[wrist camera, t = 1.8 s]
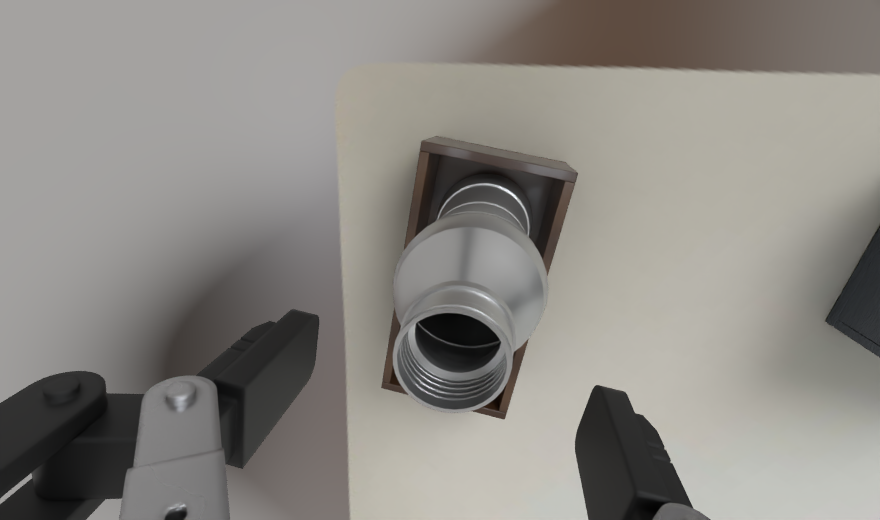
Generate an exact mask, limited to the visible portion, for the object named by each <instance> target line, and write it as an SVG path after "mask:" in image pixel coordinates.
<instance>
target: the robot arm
mask: <svg viewBox="0 0 880 520" xmlns="http://www.w3.org/2000/svg"><path fill="white" fill-rule="evenodd" d="M318 329H319V317H318V316H317V315H315V314H310V313H306V312H302V311H298V310H290V311H289V312H288V313H287V314H286V315H285V316H283V318H281V319H280V320H279V321H278V322H277V323H275V322H271V321H269V322H267V323H264V324H262V325H259V326H256V327H254V328H252V329H251V330H250V331H249V332H247V333H246V334H245V335H244V336H243V337H241V340H238V341H237V342H235V343H234V344H233V345H232V346H231V348H228V349H227V350H226V351H225V352H223V353H222V354H221V355H220V356H219V357H218V358H216V359H215V360H214V361H213V362H211V364H209V365H208V366H207V367H206V368H204V369H203V370H202V371H201V372H200V373H198V374H197V375H196V376H180V377H174V378H171V379H167V380H165V381H162V382H160V383H158V384H156V385H155V386H153V387H152V388H151V389H149V390H148V392H147V393H146V394H107V393H106V384H105V380H104V379H103V378H102V377H101V376H100V375H98V374H96V373H92V372H86V371H74V372H65V373H60V374H56V375H52V376H49V377H46V378H43V379H41V380H39V381H37V382H34V383H33V384H31V385H29V386H28V387H26V388H24V389H23V390H21V391H19V392H18V393H16V394H14V395H13V396H12V397H9V398H8V399H6V400H5V401H3V402H1V403H0V498H1V497H2V496H3V495H4V494H6V493H7V492H8V491H9V490H11V488H13V487H14V486H15V485H17V484H18V483H19V482H20V481H22V480H23V479H24V478H25V477H27V476H28V475H29V474H30V473H32V479H31V480H29V481H28V482H27V483H26V484H25V485H23V486H22V487H21V488H20V489H18V490H17V491H16V492H15V493H14V494H12V495H11V496H10V497H9V498H7V499H6V500H5V501H4V502H3V503H1V504H0V520H86V519H87V518H88V517H89V516H90V515H91V514H92V513H93V512H94V511H95V509H97V508H98V506H99V505H100V504H101V503H102V502H103V501H104V500H105V499H119V498H122V504H121V511H120V517H119V520H230V513H229V501H228V490H227V478H226V467H225V465H226V464H228V465H231V466H235V467H238V468H242V469H243V467H244V466H245V465H246V463H247V462H248V461H249V459H250V458H251V456H252V455H253V454H254V453H255V451H256V450H257V449H258V447H259V446H260V445H261V443H262V442H263V441H264V439H265V438H266V436H267V435H268V434H269V433H270V431H271V430H272V429H273V427H274V426H275V425H276V423H277V422H278V421H279V419H280V418H281V417H282V415H283V414H284V412H285V411H286V410H287V409H288V407H289V406H290V405H291V403H292V402H293V401H294V399H295V398H296V397H297V395H298V394H299V393H300V391H301V390H302V389H303V387H304V386H305V385H306V383H307V382H308V380H309V379H310V377H311V374H312V371H313V369H314V365H315V360H316V350H317V339H318ZM575 452H576V458H577V463H578V468H579V473H580V478H581V483H582V488H583V493H584V498H585V503H586V509H587V514H588V519H589V520H710V519H709V518H708V517H706V516H705V515H703V514H702V513H700V512H699V511H697V510H695V509H693V507H692V505H691V502H690V500H689V498H688V496H687V494H686V492H685V490H684V487H683V485H682V483H681V481H680V479H679V477H678V475H677V473H676V470H675V468H674V466H673V464H672V463H670V461H671V460H670V458H669V455H668V453H667V451H666V450H664V445H663V443H662V440H661V438H660V436H659V434H658V432H657V430H656V429H655V428H654V427H653V426H652V425H651V424H650V423H649V422H648V421H647V419H646V418H645V417H644V416H643V415H639V414H635V412H634V410H633V408H632V405H631V403H630V401H629V398H628V396H627V394H626V393H625V392H623V391H619V390H615V389H611V388H607V387H603V386H599V385H596V386H595V387H594V388H593V390H592V392H591V395H590V398H589V400H588V403H587V406H586V408H585V411H584V414H583V416H582V419H581V421H580V424H579V427H578V430H577V434H576V440H575Z"/></svg>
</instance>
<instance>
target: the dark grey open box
mask: <svg viewBox="0 0 880 520" xmlns="http://www.w3.org/2000/svg"><path fill="white" fill-rule="evenodd" d="M826 322H827V323H828V324H830V325H832V326H833V327H835V328H836V329H838V330H839V331H841V332H842V333H844V334H845V335H847V336H848V337H850V338H851V339H853V340H854V341H856V342H857V343H859V344H860V345H862V346H863V347H865V348H866V349H868V350H869V351H871V352H872V353H874V354H875V355H877V356H878V357H880V227H879V229H878V231H877V232H876V234H875V236H874V238H873V239H872V241H871V243H870V245H869V246H868V248H867V250H866V252H865V253H864V255H863V257H862V259H861V260H860V262H859V264H858V266H857V267H856V269H855V271H854V272H853V274H852V276H851V278H850V279H849V281H848V283H847V285H846V286H845V288H844V290H843V292H842V293H841V295H840V297H839V299H838V300H837V302H836V304H835V306H834V307H833V309H832V311H831V313H830V314H829V316H828V318H827V320H826Z"/></svg>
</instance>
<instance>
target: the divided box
mask: <svg viewBox="0 0 880 520" xmlns="http://www.w3.org/2000/svg"><path fill="white" fill-rule="evenodd" d="M478 174H494V175H499V176H502V177H504V178H507V179H509V180H511V181H512V182H514V183H515V184H516V185H518V186H519V187H520V189H521V190H522V191H523V192H524V193H525V195H526V197H527V198H528V200H529V203H530V206H531V209H532V216H533V222H532V230H531V233H530V236H529V238H530V239H531V240H532V242H533V243H534V245H535V247H536V248H537V250H538V252H539V253H540V256H541V258H542V260H543V263H544V266H545V269H546V272H547V276H548V273H549V269H550V266H551V262H552V259H553V256H554V252H555V249H556V246H557V242H558V239H559V236H560V232H561V229H562V226H563V222H564V219H565V215H566V212H567V209H568V205H569V202H570V199H571V195H572V192H573V189H574V185H575V182H576V179H577V175H578V173H577V172H576V171H575V170H574V169H573V168H572V167H570V166H569V165H568V164H567V163H566V162H561V161H556V160H551V159H546V158H541V157H536V156H531V155H526V154H522V153H517V152H512V151H507V150H502V149H497V148H492V147H487V146H483V145H478V144H473V143H468V142H463V141H458V140H453V139H448V138H443V137H439V136H435V137H432V138H429V139H426V140H423V141H422V142H421V148H420V154H419V160H418V166H417V172H416V179H415V185H414V191H413V197H412V203H411V209H410V215H409V221H408V227H407V234H406V240H405V246H404V250H405V248H406V247H407V246H408V244H409V243H410V242H411V241H412V240H413V239H414V238H415V237H416V236H417V235H418V234H419V233H420V232H421V231H422V230H423V229H424V228H426V227H427V226H429V225H430V224H432V223H434V222H435V221H436V216H437V211H438V207H439V205H440V203H441V200H442V199H443V197H444V196H445V194H446V193H447V192H448V191H449V190H450V189H451V188H452V187H453V186H454V185H455V184H456V183H458V182H459V181H461V180H463V179H465V178H467V177H470V176H473V175H478ZM400 328H401V325H400V323H399V320H398V318H397V315H396V311H395V307H394V313H393V319H392V326H391V332H390V338H389V344H388V350H387V356H386V362H385V368H384V374H383V381H382V388H384V389H388V390H392V391H396V392H399V393H403V394H407V395H409V394H408V393H407V392H406V391H405V390H404V389H403V387H402V386H401V384H400V383H399V381H398V379H397V377H396V374H395V371H394V366H393V350H394V345H395V340H396V338H397V336H398V334H399V331H400ZM528 339H529V338H528ZM527 343H528V340H527V341H526V342H525V343H524V344H523V345H522V346H521V347H520V348H518V349H517V350H516V351H514V354H513V362H512V370H511V373H510V376H509V379H508V382H507V384H506V385H505V387H504V389H503V390H502V392H501V393H500V394H499V395H498V396H497V397H496V398H495V399H494V400H493V401H491V402H490V403H488V404H487V405H485V406H483V407H481V408H479V409H476V410H473V412H477V413H481V414H485V415H489V416H493V417H497V418H501V419H505V417H506V413H507V410H508V407H509V403H510V400H511V397H512V393H513V390H514V386H515V383H516V380H517V376H518V373H519V370H520V366H521V363H522V360H523V356H524V353H525V350H526V346H527Z"/></svg>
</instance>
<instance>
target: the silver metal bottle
mask: <svg viewBox="0 0 880 520" xmlns="http://www.w3.org/2000/svg"><path fill="white" fill-rule="evenodd" d="M532 222H533V216H532V209H531V206H530V203H529V200H528V198H527V197H526V195H525V193H524V192H523V191H522V190H521V189H520V187H519V186H518V185H516V184H515V183H514V182H512V181H511V180H509V179H507V178H504V177H502V176H499V175H494V174H478V175H473V176H470V177H467V178H465V179H463V180H461V181H459V182H458V183H456V184H455V185H454V186H453V187H452V188H451V189H450V190H449V191H448V192H447V193H446V194H445V196H444V197H443V199H442V200H441V203H440V205H439V207H438V211H437V216H436V221H435V222H434V223H432V224H430V225H429V226H427V227H426V228H424V229H423V230H422V231H421V232H420V233H419V234H418V235H417V236H416V237H415V238H414V239H413V240H412V241H411V242H410V243H409V244H408V246H407V247H406V248H405V250H404V251H403V253H402V254H401V256H400V259H399V261H398V264H397V266H396V269H395V274H394V280H393V298H394V307H395V311H396V315H397V318H398V320H399V323H400V325H401V328H400V331H399V334H398V336H397V338H396V340H395V345H394V350H393V366H394V371H395V374H396V377H397V379H398V381H399V383H400V384H401V386H402V387H403V389H404V390H405V391H406V392H407V393H408V394H409V395H410V396H411V397H412V398H413V399H414V400H416V401H417V402H419V403H420V404H422V405H424V406H426V407H428V408H431V409H433V410H437V411H441V412H447V413H463V412H469V411H473V410H476V409H479V408H481V407H483V406H485V405H487V404H488V403H490V402H491V401H493V400H494V399H495V398H496V397H497V396H498V395H499V394H500V393H501V392H502V390H503V389H504V387H505V385H506V384H507V382H508V379H509V376H510V373H511V370H512V362H513V354H514V351H516V350H517V349H518V348H520V347H521V346H522V345H523V344H524V343H525V342H526V341H527V340H528V338H529V337H530V336H531V335H532V333H533V331H534V330H535V328H536V326H537V325H538V323H539V321H540V319H541V317H542V315H543V312H544V309H545V306H546V303H547V296H548V278H547V272H546V269H545V266H544V263H543V260H542V258H541V256H540V253H539V252H538V250H537V248H536V247H535V245H534V243H533V242H532V240H531V239H530V238H529V236H530V233H531V230H532Z"/></svg>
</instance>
